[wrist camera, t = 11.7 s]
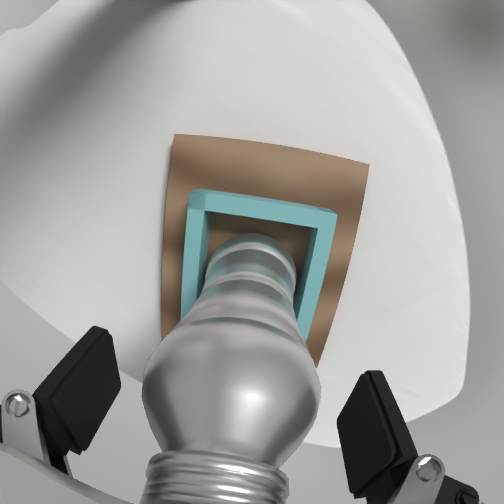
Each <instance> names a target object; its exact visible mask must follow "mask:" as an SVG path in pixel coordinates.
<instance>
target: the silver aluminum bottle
mask: <svg viewBox="0 0 504 504" xmlns="http://www.w3.org/2000/svg"><path fill="white" fill-rule="evenodd" d="M295 285H296V267H295V263H294V260H293V258H292V257H291V255H290V253H289V252H288V251H287V250H286V248H285V247H284V246H283V245H282V244H281V243H279V242H278V241H277V240H275V239H273V238H271V237H269V236H267V235H263V234H259V233H247V234H242V235H238V236H235V237H233V238H231V239H230V240H228V241H226V242H224V243H223V244H222V245H221V246H219V247H218V248H217V249H216V251H215V252H214V253H213V255H212V257H211V259H210V261H209V264H208V267H207V271H206V276H205V284H204V287H203V290H202V293H201V295H200V296H199V298H198V300H197V301H196V302H195V304H194V305H193V307H192V308H191V310H190V311H189V312H188V313H187V315H186V316H185V317H184V318H183V319H182V320H181V321H180V322H179V323H178V324H177V325H176V326H175V327H174V328H173V330H172V331H171V332H170V333H169V334H168V335H167V336H166V337H165V338H164V339H163V340H162V342H161V343H160V344H159V345H158V347H157V348H156V350H155V351H154V352H153V354H152V355H151V356H150V358H149V359H148V362H147V364H146V367H145V369H144V377H143V386H142V401H143V404H144V408H145V411H146V415H147V418H148V421H149V424H150V427H151V429H152V432H153V434H154V436H155V438H156V440H157V442H158V444H159V446H160V448H161V450H162V453H158V454H156V455H155V456H153V457H152V458H151V459H150V461H149V464H148V467H147V470H146V477H147V482H146V485H145V488H144V491H143V494H142V497H141V500H140V503H139V504H286V501H285V500H286V499H287V497H288V496H289V482H288V478H287V476H286V474H285V473H283V472H282V471H280V470H279V468H280V467H281V466H282V465H283V463H284V462H285V461H286V460H287V459H288V458H289V457H290V456H291V455H292V454H293V453H294V452H295V450H296V449H297V448H298V447H299V446H300V444H301V443H302V441H303V440H304V438H305V437H306V435H307V434H308V432H309V431H310V429H311V428H312V426H313V424H314V421H315V419H316V416H317V412H318V408H319V403H320V399H321V385H320V381H319V377H318V374H317V371H316V368H315V364H314V361H313V359H312V357H311V355H310V352H309V350H308V348H307V346H306V343H305V341H304V339H303V337H302V334H301V332H300V330H299V328H298V325H297V321H296V317H295V313H294V309H293V294H294V291H295Z"/></svg>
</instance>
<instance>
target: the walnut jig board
mask: <svg viewBox="0 0 504 504" xmlns="http://www.w3.org/2000/svg"><path fill="white" fill-rule="evenodd" d="M368 171H369V164H366V163H362V162H358V161H354V160H350V159H346V158H341V157H337V156H333V155H328V154H324V153H319V152H314V151H309V150H304V149H298V148H293V147H287V146H281V145H275V144H269V143H262V142H255V141H247V140H239V139H231V138H221V137H211V136H199V135H184V134H174V139H173V146H172V153H171V161H170V169H169V177H168V187H167V197H166V208H165V220H164V235H163V254H162V285H161V326H162V340H163V339H164V338H165V337H166V336H167V335H168V334H169V333H170V332H171V331H172V330H173V328H174V327H175V326H176V325H177V324H178V323H179V322H180V321H181V320H182V319H183V318H184V317H185V316H186V315H187V313H188V312H189V311H190V310H191V308H192V307H193V305H194V304H195V302H196V301H197V300H198V298H199V296H200V295H201V293H202V290H203V287H204V284H205V276H206V271H207V267H208V264H209V261H210V259H211V257H212V255H213V253H214V252H215V251H216V249H217V248H218V247H219V246H221V245H222V244H223V243H224V242H226V241H228V240H230V239H231V238H233V237H235V236H238V235H242V234H247V233H259V234H263V235H267V236H269V237H271V238H273V239H275V240H277V241H278V242H279V243H281V244H282V245H283V246H284V247H285V248H286V250H287V251H288V252H289V253H290V255H291V257H292V258H293V260H294V263H295V267H296V285H295V291H294V294H293V309H294V313H295V317H296V321H297V325H298V328H299V330H300V332H301V334H302V337H303V339H304V341H305V343H306V346H307V348H308V350H309V352H310V355H311V357H312V359H313V361H314V364H315V368H317V366H318V363H319V360H320V358H321V355H322V352H323V349H324V346H325V343H326V340H327V337H328V334H329V331H330V328H331V325H332V322H333V319H334V316H335V312H336V309H337V306H338V302H339V299H340V296H341V292H342V289H343V285H344V281H345V278H346V274H347V270H348V266H349V262H350V258H351V254H352V250H353V246H354V242H355V238H356V233H357V229H358V224H359V219H360V215H361V210H362V205H363V199H364V194H365V188H366V183H367V177H368Z"/></svg>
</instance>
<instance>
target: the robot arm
mask: <svg viewBox="0 0 504 504" xmlns="http://www.w3.org/2000/svg"><path fill="white" fill-rule="evenodd" d="M120 388H121V381H120V376H119V371H118V366H117V361H116V356H115V350H114V345H113V338H112V336H111V335H110V334H109V332H108V330H106V329H103V328H100V327H97V326H93V327H91V328H90V329H89V331H88V332H87V333H86V334H85V335H84V336H83V337H82V338H81V339H80V340H79V341H78V342H77V343H76V345H75V346H74V347H73V348H72V349H71V350H70V351H69V352H68V353H67V354H66V356H65V357H64V358H63V359H62V360H61V361H60V363H58V365H57V366H56V367H55V368H54V369H53V370H52V372H51V373H50V374H49V375H48V376H47V377H46V379H45V380H44V381H43V382H42V383H41V384H40V386H39V387H38V388H37V389H36V390H35V392H34V393H33V395H31V394H30V393H28V392H27V391H24V390H14V391H11V392H9V393H8V394H7V395H6V396H5V397H4V398H3V400H2V405H0V504H133V503H130V502H127V501H124V500H122V499H119V498H116V497H114V496H112V495H109V494H107V493H104V492H102V491H100V490H97V489H95V488H93V487H91V486H89V485H87V484H85V483H82V482H80V481H78V480H76V479H74V478H73V476H72V473H71V470H70V467H69V463H68V460H67V456H66V455H67V453H68V451H69V450H70V451H72V452H74V453H76V454H78V455H80V454H81V452H82V450H83V451H85V450H87V448H88V447H89V445H90V443H91V441H92V439H93V437H94V436H95V434H96V432H97V430H98V428H99V426H100V425H101V423H102V421H103V419H104V417H105V416H106V414H107V412H108V410H109V409H110V407H111V405H112V403H113V402H114V400H115V398H116V396H117V395H118V393H119V391H120ZM337 429H338V433H339V438H340V443H341V448H342V453H343V459H344V463H345V469H346V475H347V480H348V486H349V491H350V492H351V493H353V494H354V499H356V498H363V497H366V500H367V504H479V495H478V493H477V491H476V490H475V489H474V488H473V487H471V486H469V485H466V484H464V483H462V482H459V481H457V480H454V479H453V478H450V477H448V476H446V475H445V467H444V464H443V463H442V461H441V460H440V459H439V458H438V457H436V456H434V455H430V454H425V455H422V456H418V454H417V450H416V448H415V446H414V443H413V440H412V438H411V436H410V433H409V431H408V428H407V426H406V423H405V421H404V419H403V416H402V414H401V412H400V409H399V407H398V405H397V403H396V400H395V398H394V396H393V394H392V391H391V389H390V387H389V385H388V383H387V381H386V378H385V376H384V374H383V372H382V371H380V370H368V371H366V372H365V373H364V374H362V375H361V376H360V377H359V379H358V381H357V383H356V385H355V387H354V389H353V391H352V393H351V395H350V396H349V398H348V400H347V402H346V404H345V406H344V407H343V409H342V411H341V413H340V414H339V416H338V418H337ZM480 504H484V503H483V502H481V503H480Z"/></svg>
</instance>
